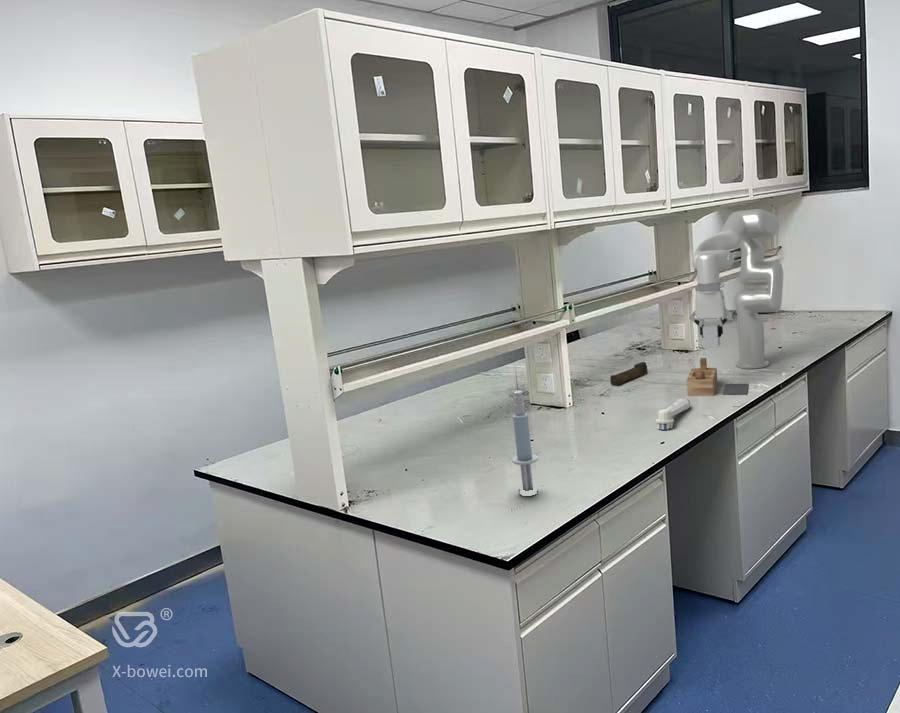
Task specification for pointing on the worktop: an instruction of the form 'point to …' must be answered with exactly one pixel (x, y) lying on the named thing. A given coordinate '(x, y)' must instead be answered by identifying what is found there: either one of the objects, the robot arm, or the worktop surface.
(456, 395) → the worktop surface
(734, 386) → the rubber mat
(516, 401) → the syringe
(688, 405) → the electric toothbrush
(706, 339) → the silver block
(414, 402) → the worktop surface
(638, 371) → the hand tool
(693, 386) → the body
